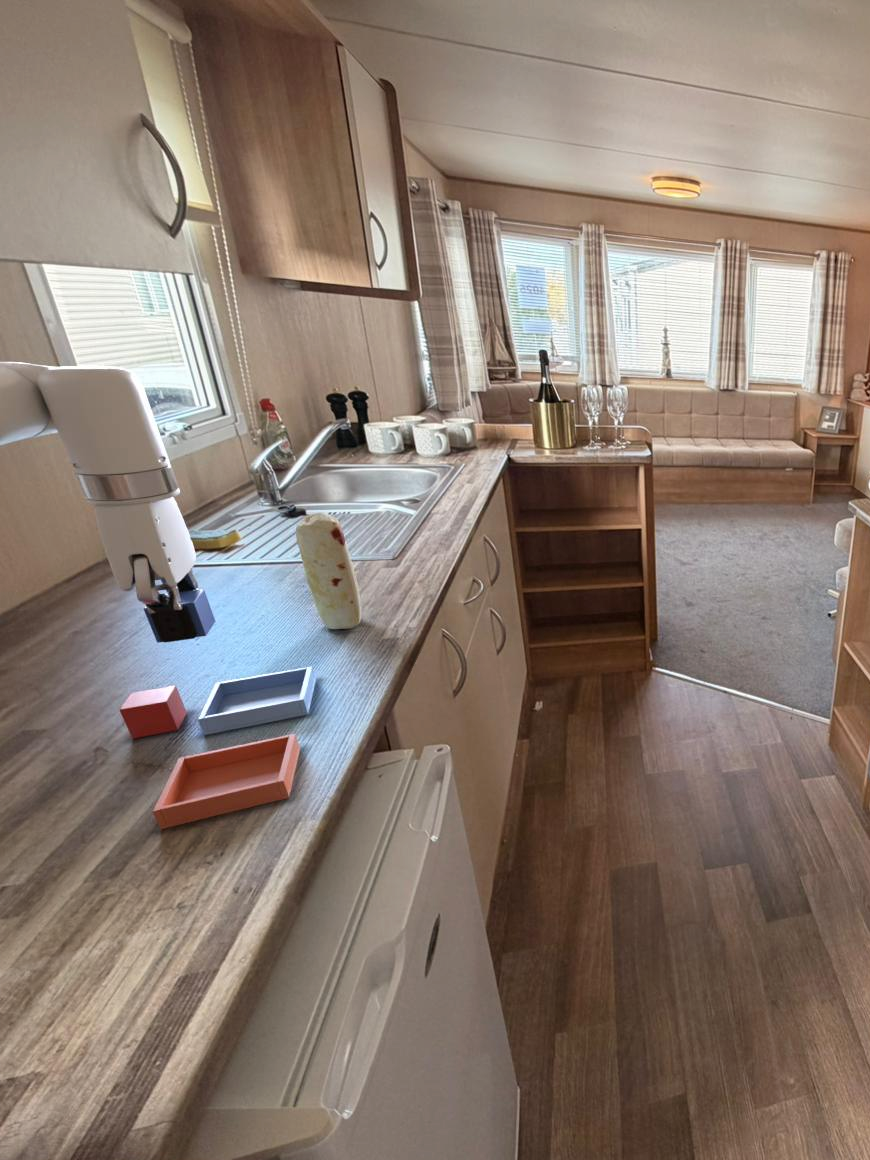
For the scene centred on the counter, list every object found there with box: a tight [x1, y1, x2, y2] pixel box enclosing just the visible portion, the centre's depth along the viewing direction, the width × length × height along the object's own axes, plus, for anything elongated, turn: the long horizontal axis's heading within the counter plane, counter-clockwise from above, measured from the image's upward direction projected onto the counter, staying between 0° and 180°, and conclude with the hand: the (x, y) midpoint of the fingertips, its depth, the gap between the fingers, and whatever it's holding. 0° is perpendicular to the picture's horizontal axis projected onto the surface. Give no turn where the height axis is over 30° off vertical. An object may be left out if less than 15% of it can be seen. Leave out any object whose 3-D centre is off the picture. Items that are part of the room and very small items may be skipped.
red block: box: [119, 684, 188, 740], centre depth 84 cm, size 4×4×4 cm
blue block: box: [143, 588, 216, 644], centre depth 77 cm, size 4×4×4 cm
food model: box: [294, 512, 362, 630], centre depth 111 cm, size 10×7×20 cm
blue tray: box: [197, 666, 317, 736], centre depth 90 cm, size 11×10×2 cm
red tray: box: [152, 733, 301, 830], centre depth 75 cm, size 11×10×2 cm
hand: (186, 629), depth 78 cm, fingers closed on blue block, 4 cm apart
